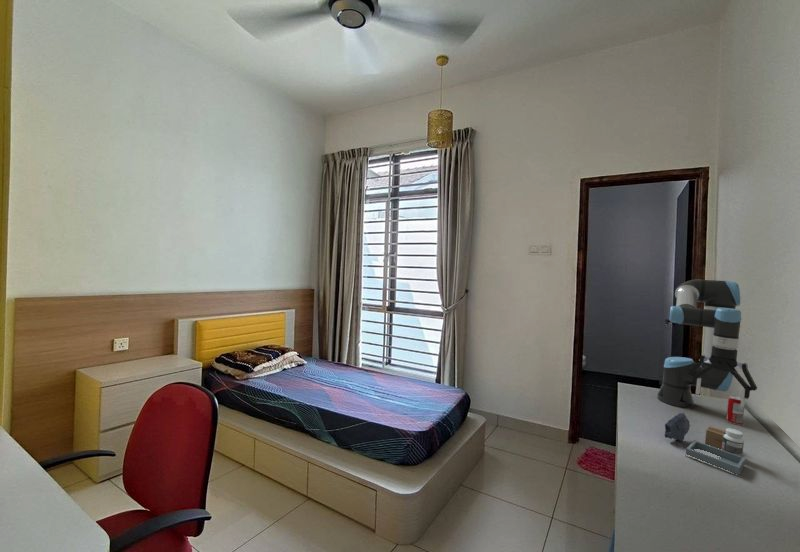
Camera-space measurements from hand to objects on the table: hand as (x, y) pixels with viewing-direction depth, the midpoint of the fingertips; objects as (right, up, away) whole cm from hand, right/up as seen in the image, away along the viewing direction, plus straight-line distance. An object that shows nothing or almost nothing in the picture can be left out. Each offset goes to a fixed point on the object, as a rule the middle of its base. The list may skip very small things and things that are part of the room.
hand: (719, 399), depth 143 cm
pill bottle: (-2, -19, -7) cm, 21 cm away
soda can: (+27, -19, +23) cm, 40 cm away
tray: (-11, -19, -11) cm, 25 cm away
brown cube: (-1, -19, +1) cm, 19 cm away
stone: (-14, -18, +4) cm, 23 cm away
